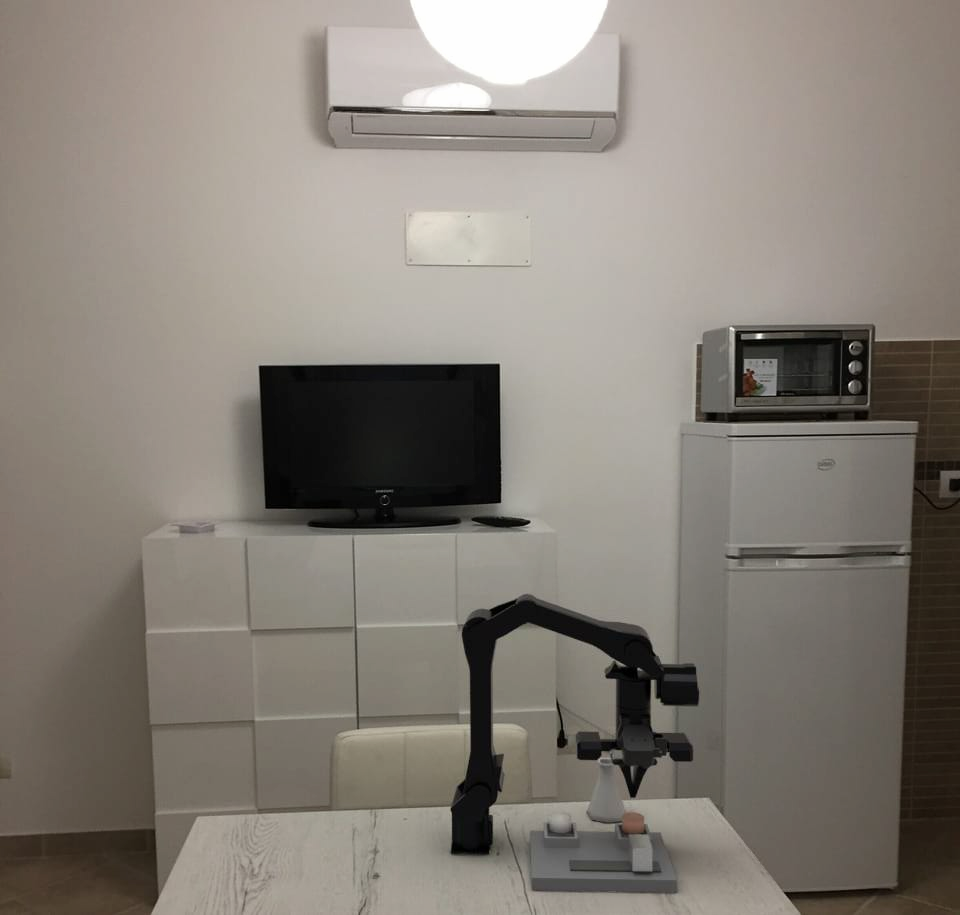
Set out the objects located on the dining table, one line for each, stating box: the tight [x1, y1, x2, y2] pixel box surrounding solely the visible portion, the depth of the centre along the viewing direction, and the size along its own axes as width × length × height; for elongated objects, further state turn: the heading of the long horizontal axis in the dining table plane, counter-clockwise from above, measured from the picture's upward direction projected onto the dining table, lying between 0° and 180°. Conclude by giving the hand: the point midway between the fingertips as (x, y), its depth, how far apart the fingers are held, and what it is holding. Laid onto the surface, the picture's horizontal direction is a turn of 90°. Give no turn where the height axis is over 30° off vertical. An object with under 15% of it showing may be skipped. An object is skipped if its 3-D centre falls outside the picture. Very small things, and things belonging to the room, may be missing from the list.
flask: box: [586, 757, 627, 824], centre depth 158 cm, size 7×7×10 cm
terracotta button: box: [621, 811, 645, 834], centre depth 144 cm, size 4×4×2 cm
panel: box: [529, 821, 678, 894], centre depth 140 cm, size 22×15×4 cm
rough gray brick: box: [629, 834, 652, 871], centre depth 136 cm, size 3×4×4 cm
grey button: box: [549, 810, 572, 833], centre depth 145 cm, size 4×4×2 cm
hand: (632, 796), depth 144 cm, fingers closed
